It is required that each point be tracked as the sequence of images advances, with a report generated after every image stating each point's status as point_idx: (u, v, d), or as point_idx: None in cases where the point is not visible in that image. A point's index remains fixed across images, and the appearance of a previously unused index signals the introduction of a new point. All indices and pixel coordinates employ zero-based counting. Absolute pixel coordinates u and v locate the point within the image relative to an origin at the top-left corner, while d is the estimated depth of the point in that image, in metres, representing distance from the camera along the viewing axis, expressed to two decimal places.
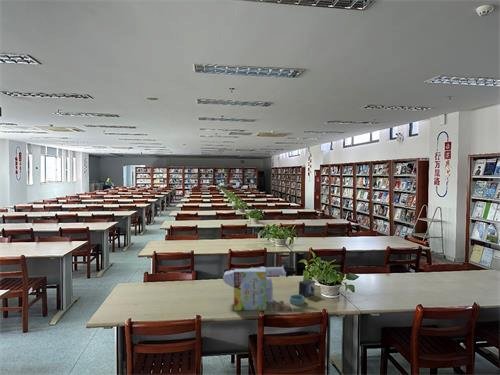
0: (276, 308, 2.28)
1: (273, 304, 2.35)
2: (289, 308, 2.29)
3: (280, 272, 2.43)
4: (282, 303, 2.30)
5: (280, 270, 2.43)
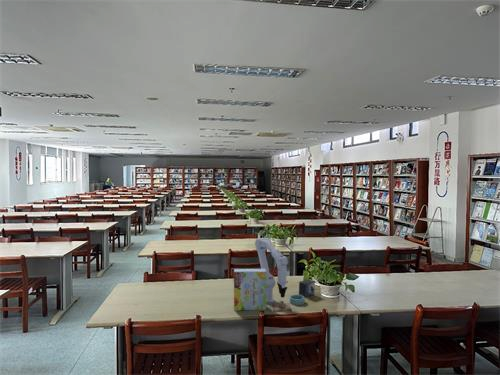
0: (276, 308, 2.28)
1: (273, 304, 2.35)
2: (289, 308, 2.29)
3: (282, 280, 2.28)
4: (282, 303, 2.30)
5: (284, 280, 2.28)
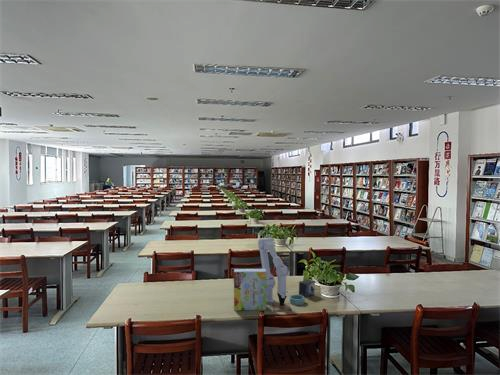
0: (276, 308, 2.28)
1: (273, 304, 2.35)
2: (289, 308, 2.29)
3: (282, 290, 2.28)
4: None
5: (284, 290, 2.28)
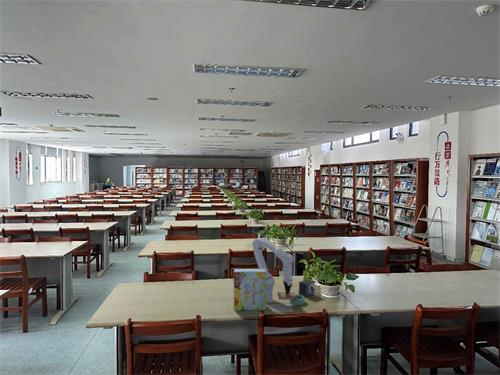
0: (282, 296, 2.32)
1: (279, 293, 2.39)
2: (294, 296, 2.32)
3: (287, 278, 2.32)
4: None
5: (289, 278, 2.32)
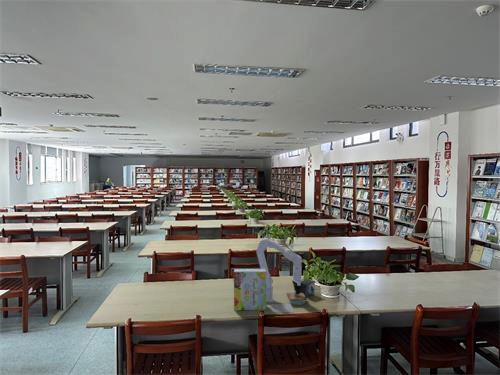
0: (291, 297, 2.39)
1: (288, 294, 2.46)
2: (304, 297, 2.39)
3: (297, 278, 2.38)
4: None
5: (299, 278, 2.39)
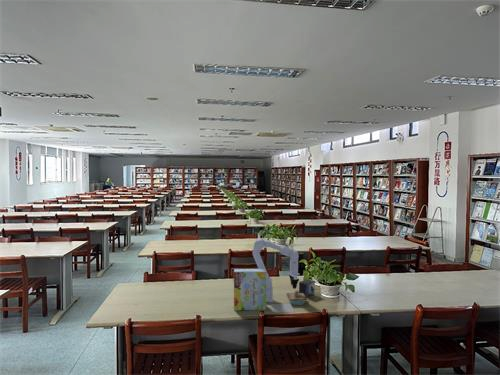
0: (291, 297, 2.39)
1: (288, 294, 2.46)
2: (304, 297, 2.39)
3: (294, 272, 2.42)
4: (297, 292, 2.40)
5: (296, 272, 2.42)
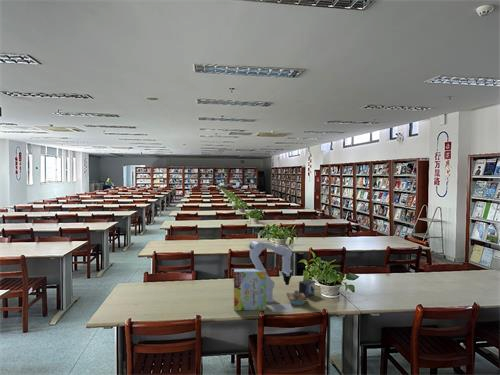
0: (291, 297, 2.39)
1: (288, 294, 2.46)
2: (304, 297, 2.39)
3: (286, 269, 2.49)
4: (297, 292, 2.40)
5: (288, 269, 2.49)
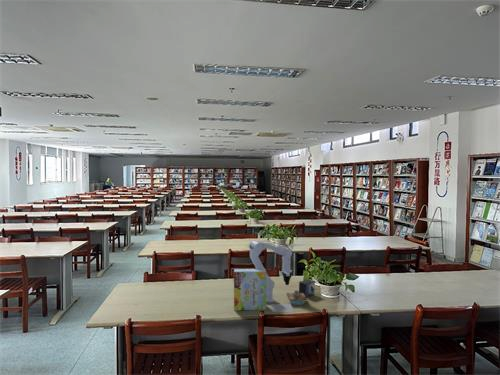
0: (291, 297, 2.39)
1: (288, 294, 2.46)
2: (304, 297, 2.39)
3: (286, 269, 2.49)
4: (297, 292, 2.40)
5: (288, 269, 2.49)
